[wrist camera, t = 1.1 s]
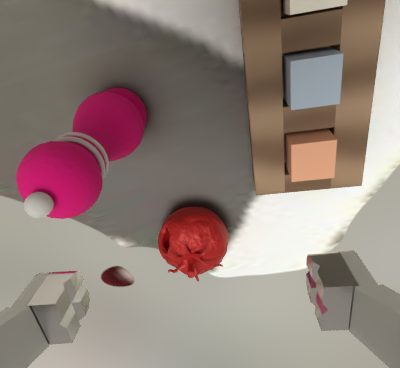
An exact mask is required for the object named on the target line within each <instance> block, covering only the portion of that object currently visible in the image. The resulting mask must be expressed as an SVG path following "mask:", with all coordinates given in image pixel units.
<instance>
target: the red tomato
mask: <svg viewBox="0 0 400 368" xmlns="http://www.w3.org/2000/svg"><path fill="white" fill-rule="evenodd" d="M228 240H229V235H228V231H227V229H226V227H225V225H224V223H223V222H222V221H221V220H220V218H219V217H218V216H217V215H216V214H215V213H213V212H212V211H211V210H209V209H207V208H203V207H184V208H181V209H178V210H177V211H175V212H173V213H172V214H171V215H169V216H168V217H167V219H166V221H165V222H164V224H163V226H162V229H161V231H160V234H159V238H158V247H159V251H160V253H161V255H162V257H163V258H164V259H165V260H166V261H167V263H168V264H170V265H172V266H174V267H176V268H177V269H175V270H169V271H171V272H174V273H175V272H177V271H178V270H180V271H181V272H183V273H184V274H187V275H188V277H190V278H192V277H194V276H195V278H196V279H197V281H199V279H198V276H197V275H199V274H202V273H204V272H207V271H208V270H211V269H213V268H214V267H216V266H222V265H221V264H219V263H220V262H221V261H222V259H223V257H224V256H225V254H226V251H227V246H228ZM169 271H168V272H169Z"/></svg>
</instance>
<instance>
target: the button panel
mask: <svg viewBox="0 0 400 368" xmlns="http://www.w3.org/2000/svg"><path fill="white" fill-rule="evenodd" d="M384 7H385V0H347V5H344V6H338V7H333V8H327V9H321V10H316V11H310V12H304V13H299V14H293V15H288V14H285V13H283V0H239V9H240V21H241V33H242V45H243V57H244V69H245V81H246V93H247V105H248V117H249V129H250V141H251V153H252V165H253V177H254V184H255V191H256V195H265V194H276V193H287V192H297V191H308V190H319V189H330V188H341V187H352V186H362V178H363V170H364V163H365V155H366V147H367V139H368V131H369V124H370V116H371V108H372V100H373V93H374V85H375V77H376V69H377V61H378V54H379V46H380V38H381V30H382V23H383V15H384ZM326 48H333V49H335V50H338V51H340V52H342V53H344V54H343V67H342V81H341V94H340V104H335V105H328V106H320V107H312V108H305V109H297V110H290V108H289V106H288V104H287V103H286V101H285V77H284V55H288V54H294V53H300V52H307V51H313V50H319V49H326ZM323 128H328V129H329V130H330V131H331V132H332V134H333V135H334V136H335V138H336V139H337V149H336V162H335V176H334V178H329V179H318V180H308V181H298V182H291V179H290V176H289V173H288V170H287V168H286V133H290V132H298V131H307V130H315V129H323Z"/></svg>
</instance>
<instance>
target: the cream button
mask: <svg viewBox="0 0 400 368" xmlns="http://www.w3.org/2000/svg"><path fill="white" fill-rule="evenodd" d="M344 5H347V0H283V13H285V14H288V15H293V14H299V13H304V12H310V11H316V10H321V9H327V8H333V7H338V6H344Z"/></svg>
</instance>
